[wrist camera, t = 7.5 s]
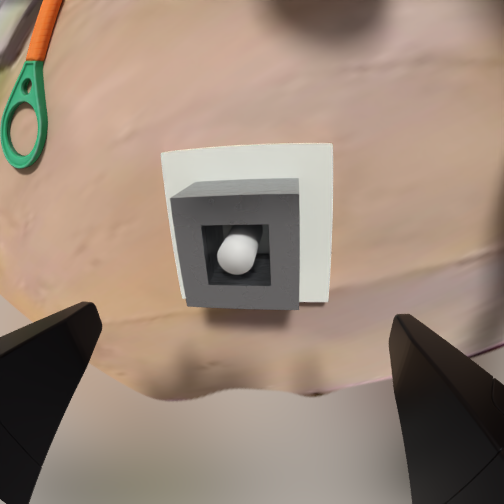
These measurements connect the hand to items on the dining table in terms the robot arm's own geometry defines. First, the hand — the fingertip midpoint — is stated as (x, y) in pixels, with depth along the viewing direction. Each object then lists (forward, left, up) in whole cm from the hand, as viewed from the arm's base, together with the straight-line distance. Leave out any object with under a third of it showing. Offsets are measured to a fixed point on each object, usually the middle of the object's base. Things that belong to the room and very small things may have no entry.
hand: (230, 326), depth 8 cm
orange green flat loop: (+18, -12, -12) cm, 25 cm away
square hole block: (+1, +1, -11) cm, 11 cm away
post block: (+1, +1, -12) cm, 12 cm away
